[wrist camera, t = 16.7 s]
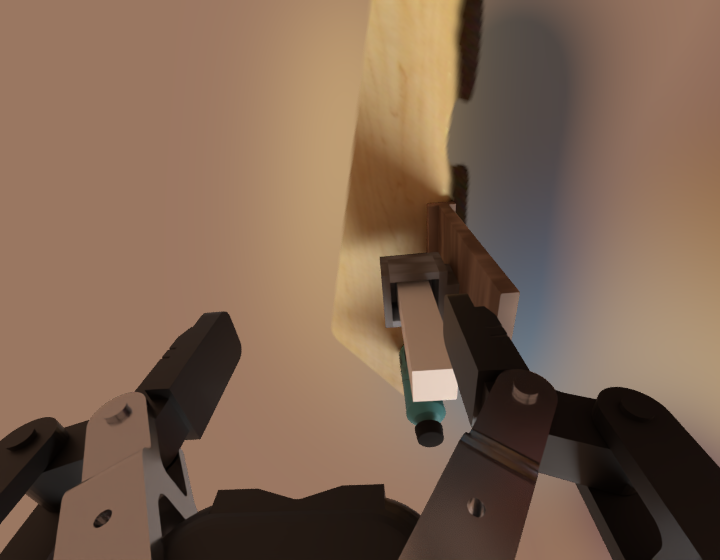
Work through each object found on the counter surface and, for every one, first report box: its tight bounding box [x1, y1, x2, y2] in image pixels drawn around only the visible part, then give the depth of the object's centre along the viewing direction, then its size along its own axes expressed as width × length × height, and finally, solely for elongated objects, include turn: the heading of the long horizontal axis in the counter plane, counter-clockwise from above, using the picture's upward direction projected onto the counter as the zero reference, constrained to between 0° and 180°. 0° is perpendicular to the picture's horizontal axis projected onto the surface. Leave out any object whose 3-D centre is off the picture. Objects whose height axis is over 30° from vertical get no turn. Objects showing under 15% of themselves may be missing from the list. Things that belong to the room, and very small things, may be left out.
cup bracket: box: [380, 201, 520, 339], centre depth 40 cm, size 12×16×26 cm
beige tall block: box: [396, 280, 458, 402], centre depth 35 cm, size 4×4×18 cm
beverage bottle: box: [399, 346, 446, 447], centre depth 53 cm, size 6×7×20 cm
